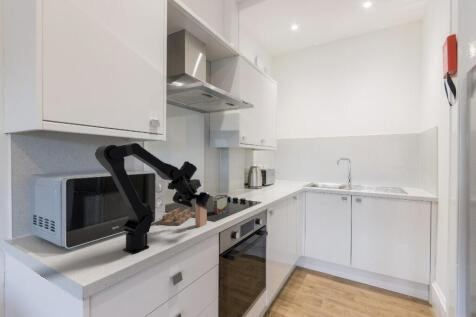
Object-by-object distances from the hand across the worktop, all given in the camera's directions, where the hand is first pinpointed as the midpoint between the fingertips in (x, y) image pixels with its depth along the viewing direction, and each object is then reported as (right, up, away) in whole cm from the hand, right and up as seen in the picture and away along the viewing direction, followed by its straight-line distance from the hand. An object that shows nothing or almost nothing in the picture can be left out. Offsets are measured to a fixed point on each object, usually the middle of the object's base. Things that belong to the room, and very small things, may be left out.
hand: (199, 207), depth 107 cm
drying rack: (-14, -9, +12) cm, 20 cm away
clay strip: (+1, -9, +1) cm, 9 cm away
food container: (+7, -9, +28) cm, 30 cm away
